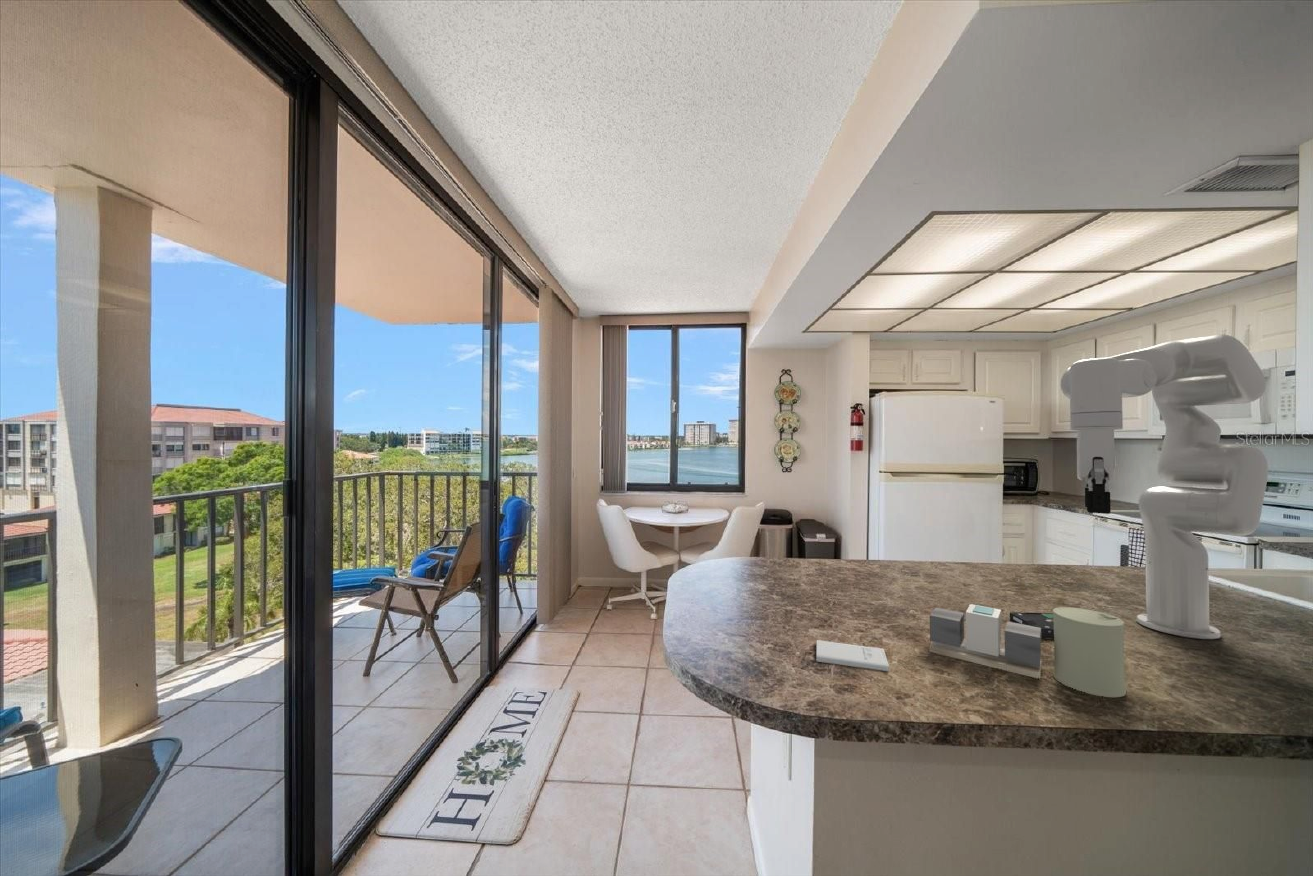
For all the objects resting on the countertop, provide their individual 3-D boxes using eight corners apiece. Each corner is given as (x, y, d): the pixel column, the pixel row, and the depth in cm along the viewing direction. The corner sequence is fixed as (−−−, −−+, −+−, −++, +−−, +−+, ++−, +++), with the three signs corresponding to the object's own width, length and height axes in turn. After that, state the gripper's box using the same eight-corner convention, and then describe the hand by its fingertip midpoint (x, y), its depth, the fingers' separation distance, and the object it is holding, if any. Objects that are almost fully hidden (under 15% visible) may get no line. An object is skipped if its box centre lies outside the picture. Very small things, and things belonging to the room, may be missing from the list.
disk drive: (1042, 642, 100) (1116, 643, 99) (1041, 628, 100) (1116, 629, 99) (1008, 623, 110) (1075, 624, 110) (1008, 611, 110) (1075, 612, 110)
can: (1142, 700, 76) (1141, 624, 76) (1076, 695, 78) (1075, 621, 78) (1099, 673, 85) (1098, 605, 85) (1041, 669, 87) (1040, 602, 87)
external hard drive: (816, 647, 97) (883, 655, 93) (816, 664, 89) (889, 674, 85) (816, 639, 97) (883, 647, 93) (816, 655, 90) (889, 665, 85)
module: (970, 639, 95) (970, 603, 95) (1001, 646, 92) (1001, 608, 92) (966, 649, 90) (965, 610, 90) (998, 656, 87) (997, 617, 87)
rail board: (936, 640, 99) (936, 606, 99) (1041, 665, 88) (1040, 627, 88) (929, 651, 94) (929, 615, 94) (1040, 679, 83) (1039, 638, 83)
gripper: (1069, 424, 102) (1070, 504, 102) (1070, 421, 89) (1072, 513, 88) (1118, 423, 97) (1119, 507, 97) (1127, 420, 84) (1129, 517, 84)
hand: (1097, 510), depth 93 cm, fingers open, 9 cm apart
